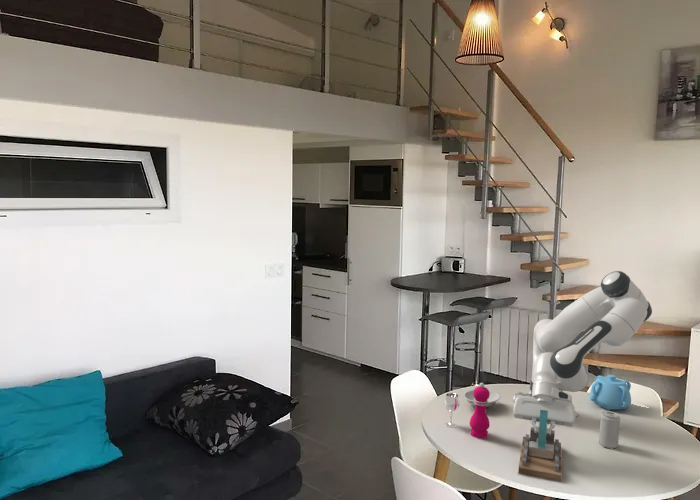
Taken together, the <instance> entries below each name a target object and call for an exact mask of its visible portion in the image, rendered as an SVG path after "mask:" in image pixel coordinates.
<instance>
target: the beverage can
mask: <svg viewBox="0 0 700 500" xmlns="http://www.w3.org/2000/svg"><path fill="white" fill-rule="evenodd" d="M599 423H600V424H599V425H600V426H599V434H598V436H599V437H598V443H599V444H600V445H601V446H602V447H603V446H604V447H603V448H605V447H607V448H606V449H609V448H613V449H616V448H617V447H618V446H619V438H620V437H619V436H620V426H621V418H620V414H619V413H617V412H615V411H612V410H605V411H602V413H601V415H600V422H599Z"/></svg>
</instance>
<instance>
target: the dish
mask: <svg viewBox="0 0 700 500" xmlns="http://www.w3.org/2000/svg"><path fill="white" fill-rule="evenodd" d="M488 390H489V393H490V396H489V398H488V399H487V400H488V404H487V405H486V408H488V407H492V406H493V405H494V404H496V402H498V401H499V400H500V399H501V394H500V393H498V392H497V391H494V390H490V389H488ZM473 391H474V389H470V390H466V391H465V392H463V395H462V397H463V398H464V399H465V400H466V401H467V402H468V404H470V405H471V406H474V407H475V403H474V399H475V397H474V396H473Z"/></svg>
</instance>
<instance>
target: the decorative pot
mask: <svg viewBox="0 0 700 500" xmlns="http://www.w3.org/2000/svg"><path fill="white" fill-rule="evenodd" d="M631 387H632V386H631V383H630V381H628V379H627V380H626V379H620V378H618V377H617V376H616V375H614V374H608V375H607V376H603V375H597V376H596V377H595V381H593V383H592V384H591V388H590V392H589V400H590V402H593V403H594V404H595V405H597V406H599V407H602V408H604V410H605V411H612V410H626V409H627V408H629V407H630V406H631V403H632V397H631V396H632V395H631V392H630V390H631Z"/></svg>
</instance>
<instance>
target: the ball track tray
mask: <svg viewBox="0 0 700 500" xmlns="http://www.w3.org/2000/svg"><path fill="white" fill-rule="evenodd" d="M538 436H539V434H538V433H534V427H533V426H530V433H529V434H525V436H522V442H521V448H520V449H521V450H520V457H519V463H518V475H519V474H520V475H525V476H529V477H535V478H541V479H546V480H552V481H557V482H562V442H560V440H559V439H558V438H555V430H554V429H552V431H551V435H546V444H551V445H554V458H553V459H547V458H541V457H536V456H530V455H528V452H529V441H533V442H538Z"/></svg>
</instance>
